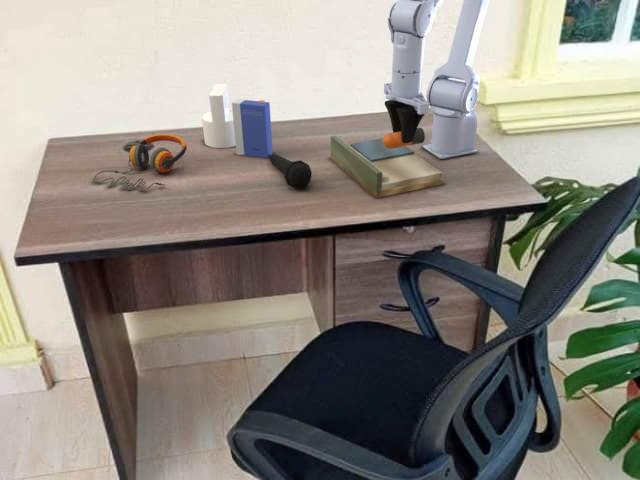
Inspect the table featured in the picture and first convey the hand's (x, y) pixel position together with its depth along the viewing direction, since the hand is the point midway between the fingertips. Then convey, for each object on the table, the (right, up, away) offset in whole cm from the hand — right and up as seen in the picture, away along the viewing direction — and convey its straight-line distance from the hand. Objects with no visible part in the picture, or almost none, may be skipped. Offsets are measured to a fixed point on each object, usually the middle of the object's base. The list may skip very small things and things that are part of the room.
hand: (403, 139), depth 133 cm
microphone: (-23, -6, +7) cm, 25 cm away
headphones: (-54, -5, +9) cm, 55 cm away
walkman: (-32, +1, +16) cm, 36 cm away
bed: (-3, -5, +8) cm, 9 cm away
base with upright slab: (-40, +6, +23) cm, 46 cm away
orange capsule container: (0, -1, +1) cm, 1 cm away
